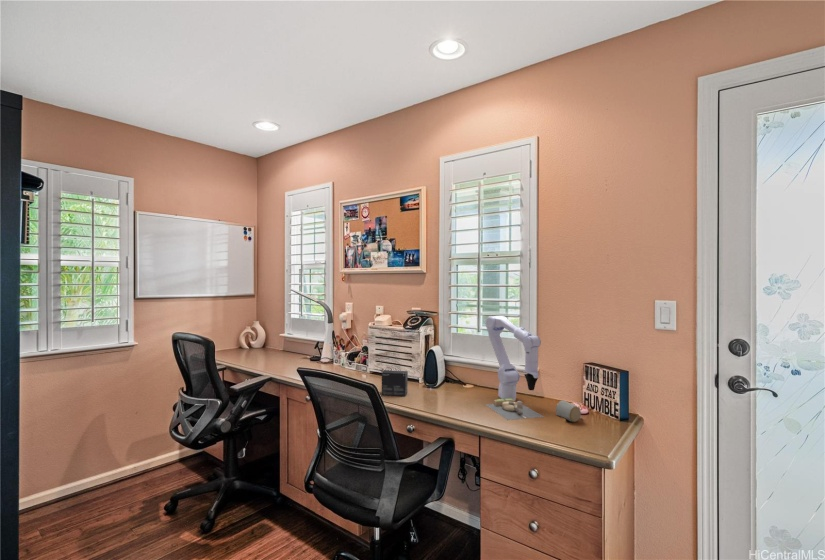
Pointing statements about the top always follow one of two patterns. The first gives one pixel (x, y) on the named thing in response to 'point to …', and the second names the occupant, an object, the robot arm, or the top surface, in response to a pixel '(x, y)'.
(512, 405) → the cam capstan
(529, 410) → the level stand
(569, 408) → the ceramic mug
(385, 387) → the small box
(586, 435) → the top surface
